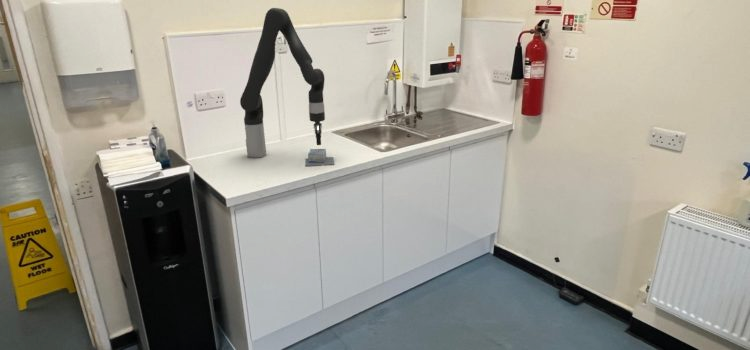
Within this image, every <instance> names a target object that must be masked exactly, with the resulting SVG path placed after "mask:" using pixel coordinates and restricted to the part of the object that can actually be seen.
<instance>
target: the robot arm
mask: <svg viewBox="0 0 750 350" xmlns="http://www.w3.org/2000/svg"><path fill="white" fill-rule="evenodd" d="M279 32H280V33H281V34H282V35H283V37H284V39H285V40H286V42H287V45H288V48H289V51H290V53H291V56H292V57H293V58H294V61H295V62H296V63H297V65H298V67H299V69H300V72H301V74H302V78H303V80H304V81H305V82H306V84H308V85H309V86H311V87H310V90H308V114H309V115H308V116H309V121H310V122H312V123H313V129H314V135H315V140H316V145H317V146H321V145H322V132H323V131H322V129H323V124H322V123H321V122H324V121H325V119H326V114H325V113H326V112H325V104H324V103H325V102H324V88H325V74H324V72H323V70H322V69H320V68H314V67H313V65H312V64H313V58H312V57H311V55H310V53H309V52H308V51H307V48H306V47H305V45H304V44H303V42H302V40H301V38H300V37H299V35H298V34H297V33H298V32H297V31H296V29H295V27H294V25H293V22H292V19H291V17H290V15H289V13H288V12H287V11H286V10H285V9H283V8H279V7H278V8H277V7H271V8H270V9H268V10H267V12H266V13H265V17H264V20H263V26H262V31H261V36H260V39H259V42H258V44H257V48H256V51H255V53H254V57H253V60H252V63H251V67H250V71H249V75H248V80H247V83H246V85H245V88H244V90H243V92H242V94H241V96H240V100H239V104H240V107H241V109H243V111H244V117H243V124H244V130H245V145H246V154H247V158H253V159H258V158H264V157H265V156H267V147H266V137H265V129H264V107H263V105H264V104H263V99H262V98H263V97H262V95H261V94H262V93H261V92H262V89H263V86H264V84H265V83H266V81H267V79H268V77H269V75H270V73H271V70H272V68H273V65H274V62H275V58H276V41H277V38H278V34H279Z"/></svg>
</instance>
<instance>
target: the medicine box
mask: <svg viewBox="0 0 750 350" xmlns="http://www.w3.org/2000/svg"><path fill="white" fill-rule="evenodd" d="M326 157H327V150H326V148H310V149H309V152H308V153H307V158H308V162H324V161H325V159H326Z"/></svg>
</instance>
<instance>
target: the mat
mask: <svg viewBox="0 0 750 350" xmlns="http://www.w3.org/2000/svg"><path fill="white" fill-rule="evenodd" d="M334 158H335V157H334V156H329V157H327V156H326V159H325V161H324V162H308V157H306V158H305V163H304V165H305V167H318V166H319V167H321V166H322V165H324V166H335V160H334Z"/></svg>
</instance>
